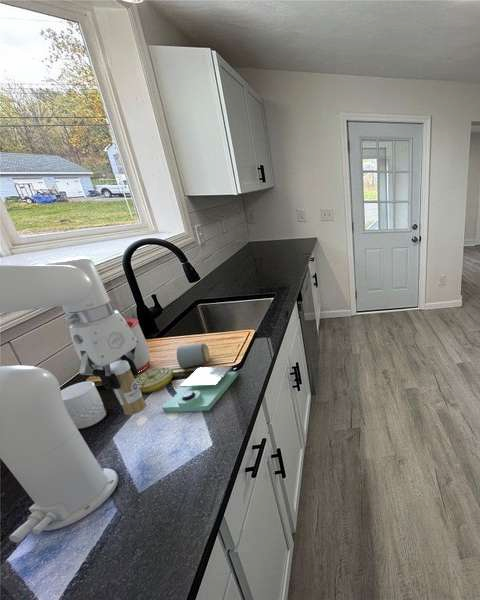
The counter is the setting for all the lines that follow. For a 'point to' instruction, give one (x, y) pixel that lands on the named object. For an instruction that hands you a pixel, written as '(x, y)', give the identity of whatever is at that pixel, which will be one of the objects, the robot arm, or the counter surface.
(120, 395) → the sprinkles bottle
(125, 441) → the counter surface
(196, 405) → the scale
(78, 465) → the robot arm
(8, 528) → the counter surface
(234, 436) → the counter surface
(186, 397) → the tare button
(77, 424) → the white cup
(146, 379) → the decorated donut
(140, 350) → the citrus juicer
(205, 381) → the scale pan
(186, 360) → the ceramic mug
